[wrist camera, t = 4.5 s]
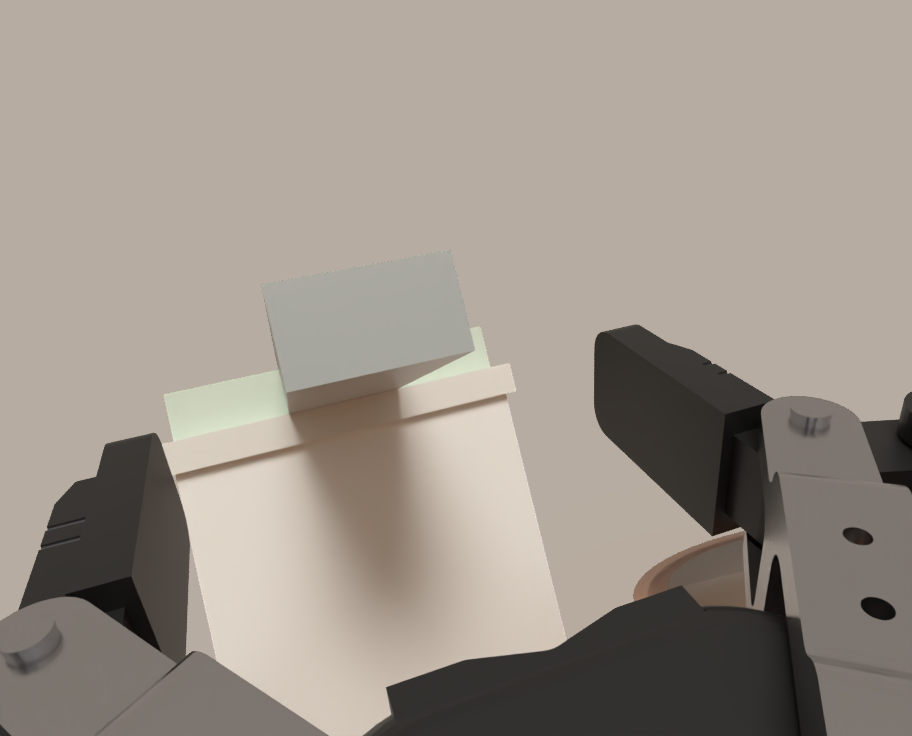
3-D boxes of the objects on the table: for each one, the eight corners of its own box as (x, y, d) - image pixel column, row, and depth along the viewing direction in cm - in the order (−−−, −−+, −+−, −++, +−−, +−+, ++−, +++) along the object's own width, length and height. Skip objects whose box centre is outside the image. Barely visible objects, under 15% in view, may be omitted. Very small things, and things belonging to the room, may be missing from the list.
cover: (59, 444, 11) (34, 325, 11) (219, 442, 35) (211, 405, 35) (643, 312, 14) (619, 219, 14) (419, 394, 38) (411, 360, 38)
